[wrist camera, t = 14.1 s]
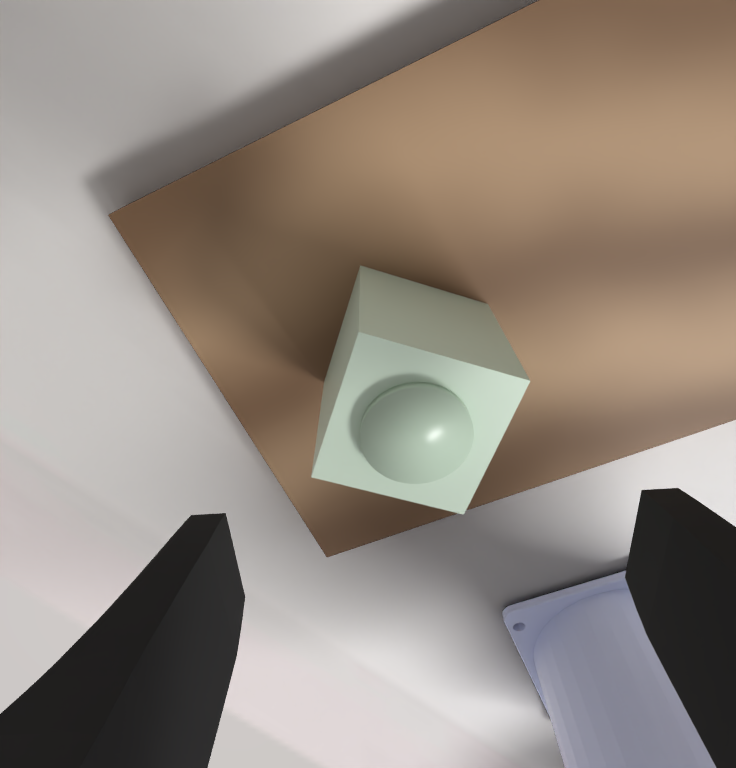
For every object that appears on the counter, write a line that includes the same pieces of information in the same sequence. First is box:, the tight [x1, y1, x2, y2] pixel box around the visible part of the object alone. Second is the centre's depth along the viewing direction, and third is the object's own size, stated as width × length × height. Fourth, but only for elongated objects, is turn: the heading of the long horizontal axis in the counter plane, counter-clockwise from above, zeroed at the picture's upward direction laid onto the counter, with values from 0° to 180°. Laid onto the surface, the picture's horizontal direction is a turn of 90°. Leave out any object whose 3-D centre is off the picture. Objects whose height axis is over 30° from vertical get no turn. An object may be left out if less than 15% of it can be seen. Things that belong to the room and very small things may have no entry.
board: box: [108, 0, 736, 557], centre depth 18 cm, size 14×20×1 cm
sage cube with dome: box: [311, 265, 530, 515], centre depth 15 cm, size 4×4×5 cm
